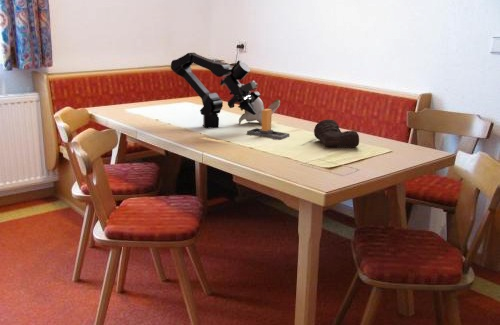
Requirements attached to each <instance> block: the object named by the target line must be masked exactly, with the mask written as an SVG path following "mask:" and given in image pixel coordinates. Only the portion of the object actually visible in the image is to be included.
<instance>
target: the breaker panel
mask: <svg viewBox="0 0 500 325" xmlns="http://www.w3.org/2000/svg"><path fill="white" fill-rule="evenodd" d="M260 130H262V128H257V127H255V128H253V129H250V130H247V131H246V136H258V137H259V138H261V137H264V138H265V137H266V138H269V139H272V140H274V141H278V140H283V139H287V138H288V137H290V133H286V132H282V131H276V130H273V134H272V135H271V134H265V133H260Z"/></svg>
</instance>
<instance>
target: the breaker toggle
mask: <svg viewBox="0 0 500 325" xmlns="http://www.w3.org/2000/svg"><path fill="white" fill-rule="evenodd" d="M272 115H273V114H272V109H268V108H264V110H262V124H261V129H262V130H260V132H259V133H265V134H271V135H274V134H273V131H274V129H272V117H273V116H272Z"/></svg>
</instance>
